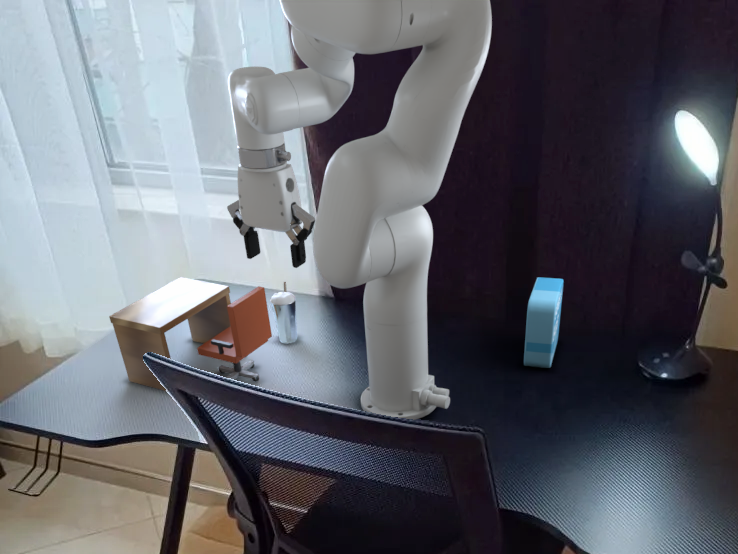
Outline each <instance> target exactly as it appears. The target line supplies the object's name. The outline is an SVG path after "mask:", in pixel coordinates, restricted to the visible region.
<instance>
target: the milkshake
mask: <svg viewBox="0 0 738 554" xmlns="http://www.w3.org/2000/svg"><path fill="white" fill-rule="evenodd" d="M296 299H297V298H296V296H295V294H293V293H292V292H290V291H288V290H287V281H283V291H278V292H275V293H273V295H272V296H271V297H270V299H269V303H270V305H271V310H272V313H273V318H274V321H275V322H274V323H275V326H276V331H277V334H278V340H279V342H280V343H281V344H285V345H291V344H293V343H295V342H297V340H298V326H297V324H298V323H297V306H296V305H297V303H296V302H297V301H296Z"/></svg>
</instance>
